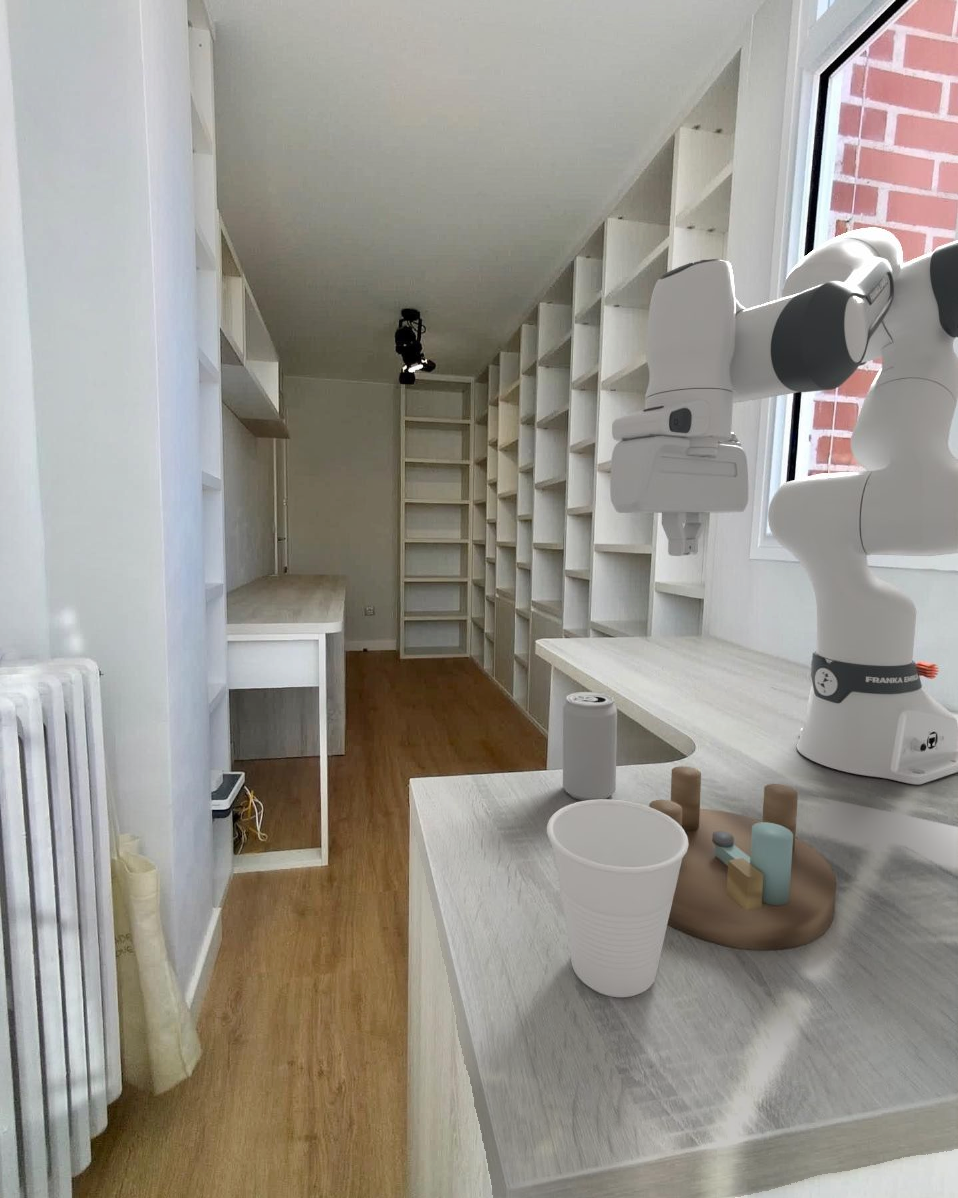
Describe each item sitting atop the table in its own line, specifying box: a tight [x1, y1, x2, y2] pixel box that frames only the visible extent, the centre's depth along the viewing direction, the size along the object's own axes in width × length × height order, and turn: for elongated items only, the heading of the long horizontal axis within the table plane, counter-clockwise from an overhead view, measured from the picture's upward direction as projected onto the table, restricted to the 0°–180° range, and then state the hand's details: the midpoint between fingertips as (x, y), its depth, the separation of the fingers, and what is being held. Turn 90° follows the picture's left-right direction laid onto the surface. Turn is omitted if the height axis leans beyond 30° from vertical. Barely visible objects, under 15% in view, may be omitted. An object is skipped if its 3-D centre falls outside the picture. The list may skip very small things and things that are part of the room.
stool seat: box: [648, 765, 837, 951], centre depth 55 cm, size 18×18×8 cm
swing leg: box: [712, 822, 793, 905], centre depth 52 cm, size 8×3×5 cm, turn 14°
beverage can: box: [562, 691, 618, 801], centre depth 73 cm, size 6×6×12 cm
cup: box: [546, 798, 689, 998], centre depth 44 cm, size 10×10×11 cm
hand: (682, 555), depth 66 cm, fingers closed
